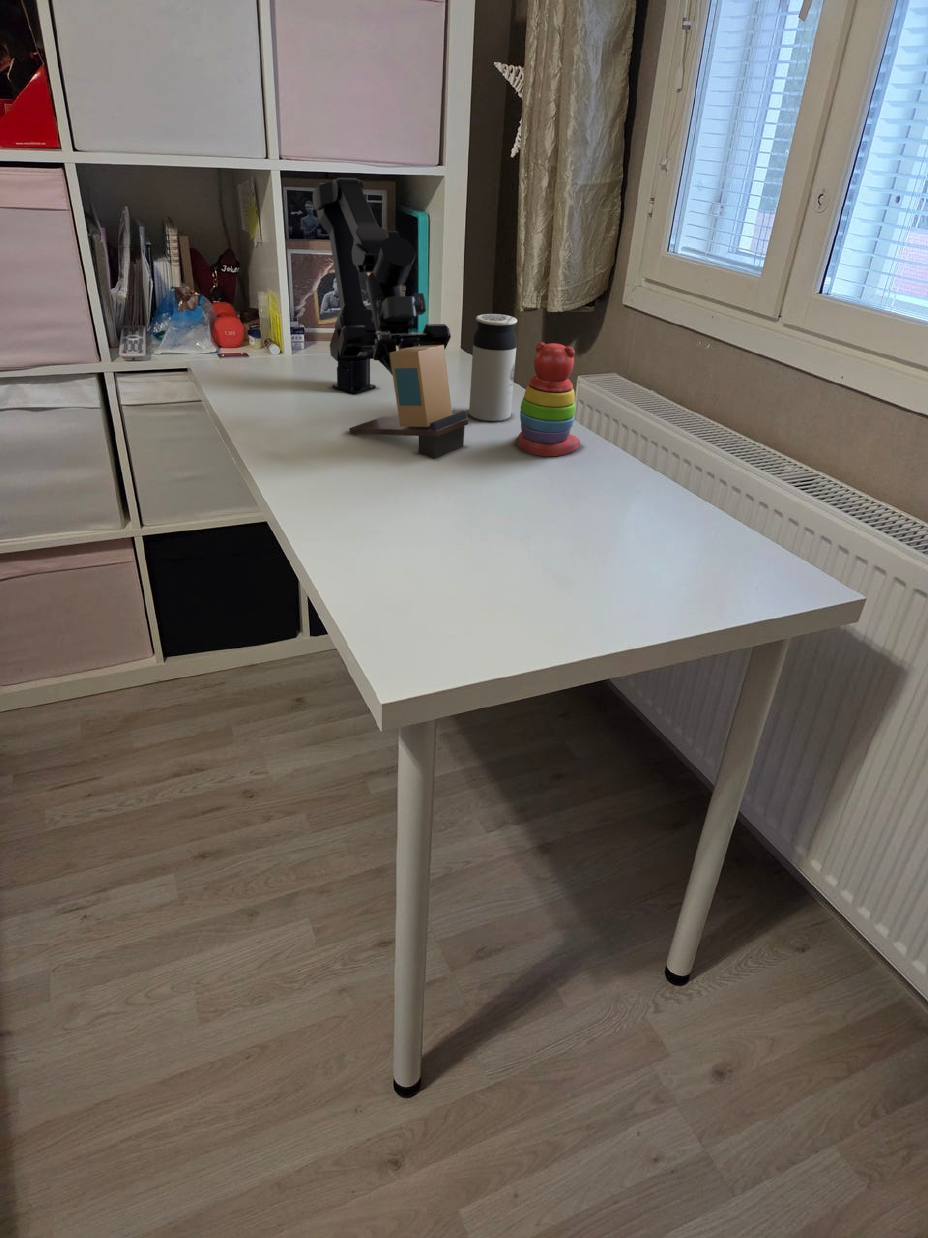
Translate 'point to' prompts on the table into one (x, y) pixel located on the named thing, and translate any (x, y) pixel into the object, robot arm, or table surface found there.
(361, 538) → the table surface
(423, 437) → the ramp
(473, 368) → the travel mug
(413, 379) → the carton
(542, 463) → the table surface
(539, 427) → the stacking bear
